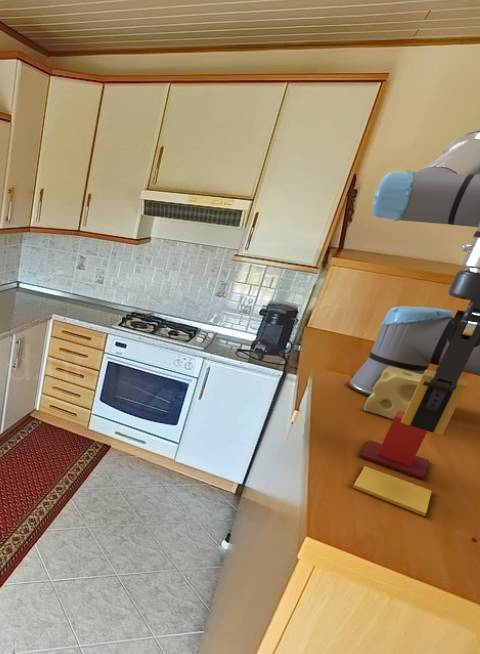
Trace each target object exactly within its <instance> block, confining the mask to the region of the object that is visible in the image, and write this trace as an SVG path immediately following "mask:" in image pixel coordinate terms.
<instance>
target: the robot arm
mask: <svg viewBox="0 0 480 654" xmlns="http://www.w3.org/2000/svg"><path fill="white" fill-rule="evenodd" d="M371 212H372V214H373V215H374V217H376V218H379V219H388V220H393V221H394V222H399V221H403V222H415V223H427V224H437V225H450V226H461V227H470V228H477V229H476V231H475V232H474V234H473V236H472V237H473V238H472V239H471V244H470V243H465V244H463V245H462V246H461V251H463V252H467V253H465V254H464V255H463V256H464V257H463V259H462V261H461V263H460V264H461V266H462V267H465V268H464V270H462V269H461V270H459V271H457V272H456V273H455V275H454V278H453V280H452V282H451V285H450V286H449V289H448V291H447V294H448V295H449V296H450V297H453V298H456V299H461V300H466V301H467V300H468V301H469V304H468V306H467V307H466V310H459V309H457V311H456V313H455V314H454V313H453V311H452V310H450V309H445V308H438V307H429V306H428V307H427V306H415V305H414V306H411V305H410V306H409V305H399V306H394V307H392V308H390V309H389V310H388V311H387V313H386V315H385V317H384V319H383V321H382V322H381V327H380V328H379V331H378V333H377V336H376V339H375V341H374V344H373V346H372V348H371V350H370V352H369V355H368V358H367V360H366V361H365V362H364V363H363V364H362V365H361V366H360V368H358V369H357V371H356V373H354V374H352V375H351V377H350V379H349V382H348V386H349V387H350V388H351V389H352V390H354V391H355V392H358V393H360V394H362V395H365V396H368V397H369V396H370V395H371V394H372V392H373V388H374V386H375V384H376V382H377V381H378V380H379V379H380V378H381V376H382V374H383V371H384V370H385V369H386V368H387V367H389V366H393V367H396V368H400V369H403V370H407V371H411V372H415V373H419V374H424V372H425V370H429V366H430V365H434V366H436V368H435V372H436V374H435V376H434V378H433V379H432V380H431V381H430V382H426V381H424V384H423V385H424V386H428V388H427V390H426V392H425V394H424V396H423V399H422V401H421V403H420V405H419V407H418V409H417V411H416V414H415V416H414V418H413V420H412V422H411V424H410V426H413V427H416V428H420V429H423V430H426V431H427V432H430V433H433V432H434V430H435V428H436V426H437V424H438V422H439V420H440V418H441V416H442V414H443V412H444V410H445V408H446V405H447V403H448V401H449V399H450V397H451V395H452V393H453V391H454V390H455V389H456V387H457V385H456V384H457V382H458V380H459V378H461V375H462V374H463V373H466V374H470V375H475V376H479V377H480V128H478V129H475V130H472V131H470V132H467V133H466V134H464V135H462V136H459V137H457V138H456V139H455V140H453V141H452V142H451V143H449V144H448V145H447V146H446V147H445V148H444V150H443V151H442V152H441V153H440V156H439V157H437V158H436V159H434V160H433V161H431V162H430V163H428V164H426V166H423V167H422V168H421V169H419V170H418V171H412V170H405V171H391V172H389V173H387V174H386V175H384V177H383V178H382V179H381V180H380V182H379V184H378V186H377V188H376V191H375V193H374V198H373V200H372V206H371ZM443 379H444V380H443ZM447 380H448V381H447Z"/></svg>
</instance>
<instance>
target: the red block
mask: <svg viewBox="0 0 480 654" xmlns="http://www.w3.org/2000/svg"><path fill="white" fill-rule="evenodd" d="M404 415H405V412H402V411H399V410H398V411H397V413H396V415H395V416H394V419H392V420H391V423H390V425H389V428H388V430H387V431H386V434H385V437H384V439H383V441H382V443H381V444H382V445H381V447H380V450H379V452H378V454H377V455H379V456H382V457H384V458H387V459H390V460H393V461H396V462H399V463H401V464H404V465H407V466H411V464H412V462H413V460H414V458H415V456H417V454H418V451H419V449H420V447H421V445H422V444H423V441H424V439H425V438H426V435H427V433H428V431H426V430H423V429H420V428H416V427H413V426H410V425H407V424H404V423H401V421H402V419H403V417H404Z"/></svg>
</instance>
